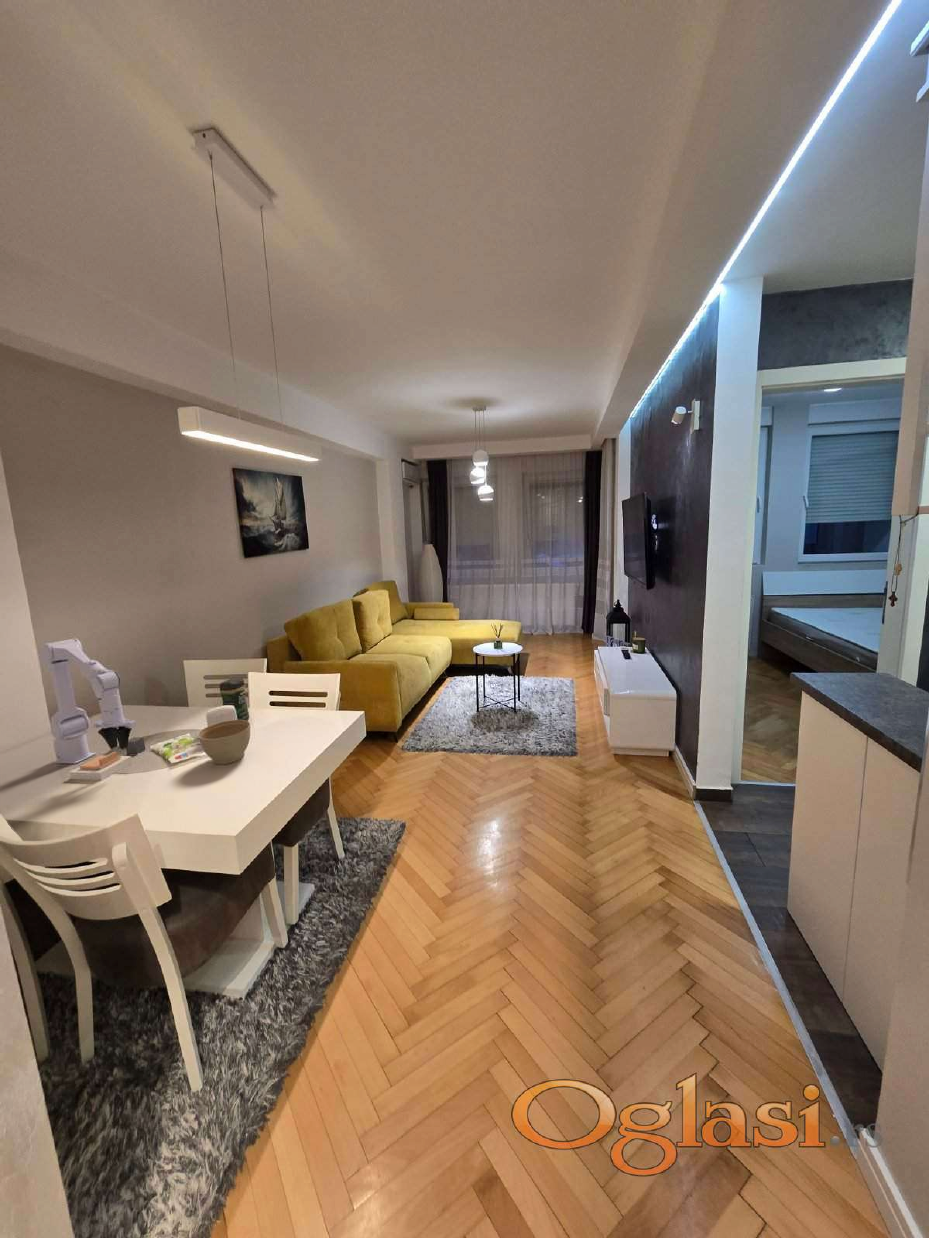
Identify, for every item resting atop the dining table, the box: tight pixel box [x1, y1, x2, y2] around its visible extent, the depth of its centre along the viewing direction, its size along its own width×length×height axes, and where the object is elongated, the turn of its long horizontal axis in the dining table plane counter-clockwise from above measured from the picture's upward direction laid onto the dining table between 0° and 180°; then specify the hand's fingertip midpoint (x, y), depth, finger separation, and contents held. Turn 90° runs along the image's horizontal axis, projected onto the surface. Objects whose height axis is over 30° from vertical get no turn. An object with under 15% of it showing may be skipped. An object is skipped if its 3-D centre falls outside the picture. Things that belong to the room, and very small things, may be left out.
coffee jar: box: [219, 676, 250, 721], centre depth 204 cm, size 10×8×19 cm
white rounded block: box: [205, 705, 237, 727], centre depth 189 cm, size 10×4×12 cm, turn 123°
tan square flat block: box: [78, 751, 122, 769], centre depth 167 cm, size 8×8×3 cm
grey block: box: [125, 736, 146, 756], centre depth 181 cm, size 4×4×5 cm
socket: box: [68, 755, 133, 781], centre depth 168 cm, size 12×12×2 cm
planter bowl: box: [197, 720, 251, 765], centre depth 170 cm, size 16×16×11 cm
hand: (119, 747), depth 165 cm, fingers open, 3 cm apart
